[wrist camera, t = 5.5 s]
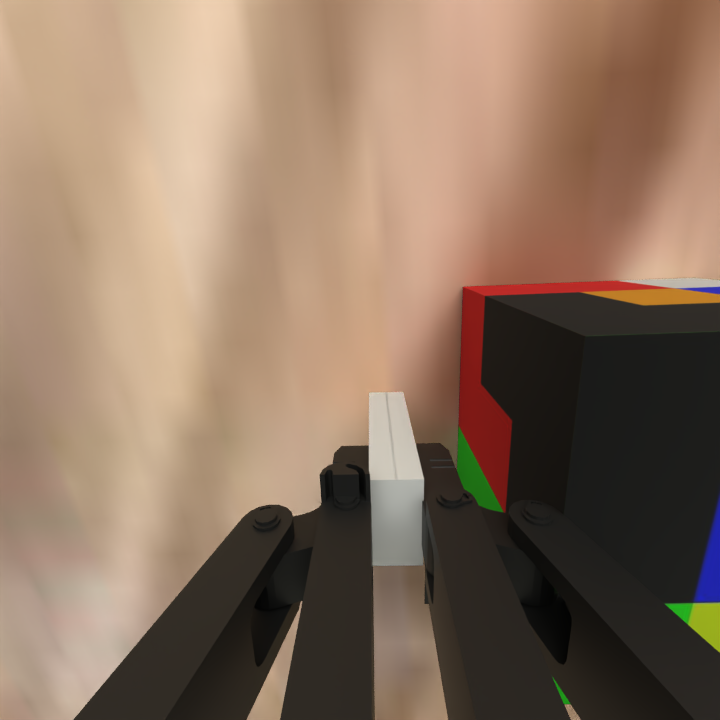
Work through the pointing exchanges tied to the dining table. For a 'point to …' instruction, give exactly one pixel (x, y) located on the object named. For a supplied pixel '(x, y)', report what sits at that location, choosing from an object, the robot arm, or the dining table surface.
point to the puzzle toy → (604, 422)
